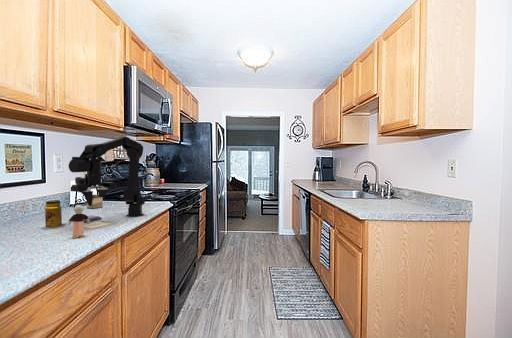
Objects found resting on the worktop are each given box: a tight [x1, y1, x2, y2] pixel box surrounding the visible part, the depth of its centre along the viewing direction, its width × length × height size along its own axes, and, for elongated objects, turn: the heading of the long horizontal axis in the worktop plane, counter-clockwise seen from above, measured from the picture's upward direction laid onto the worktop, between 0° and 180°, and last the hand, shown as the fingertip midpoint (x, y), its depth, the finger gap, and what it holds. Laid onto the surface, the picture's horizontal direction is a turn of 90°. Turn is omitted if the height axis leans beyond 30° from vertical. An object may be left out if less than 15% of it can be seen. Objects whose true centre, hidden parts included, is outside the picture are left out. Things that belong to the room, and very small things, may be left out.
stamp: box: [86, 194, 103, 210], centre depth 130 cm, size 4×4×6 cm
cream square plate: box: [84, 220, 117, 231], centre depth 130 cm, size 13×12×1 cm
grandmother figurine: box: [66, 204, 91, 239], centre depth 110 cm, size 8×4×13 cm, turn 148°
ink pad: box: [71, 215, 102, 224], centre depth 140 cm, size 10×8×2 cm
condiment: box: [42, 199, 68, 230], centre depth 128 cm, size 7×8×12 cm
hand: (94, 205), depth 130 cm, fingers closed on stamp, 4 cm apart
